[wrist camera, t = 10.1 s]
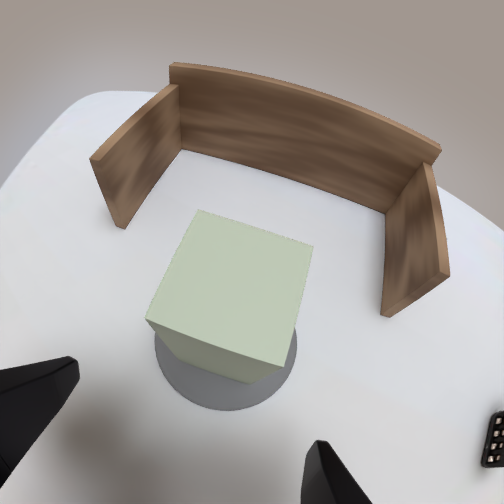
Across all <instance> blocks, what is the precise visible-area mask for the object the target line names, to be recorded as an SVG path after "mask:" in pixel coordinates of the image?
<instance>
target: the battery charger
mask: <svg viewBox="0 0 504 504" xmlns="http://www.w3.org/2000/svg"><path fill="white" fill-rule="evenodd" d="M482 464H483V466H484V467H485V468H498V467H504V411H500V412H497V413H495V414H494V416H493V417H492V419H491V423H490V427H489V432H488V437H487V441H486V446H485V450H484V455H483V460H482Z"/></svg>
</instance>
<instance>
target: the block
mask: <svg viewBox="0 0 504 504" xmlns="http://www.w3.org/2000/svg"><path fill="white" fill-rule="evenodd" d="M313 247H314V246H311V245H308V244H305V243H302V242H299V241H296V240H293V239H290V238H287V237H284V236H281V235H278V234H275V233H271V232H268V231H265V230H262V229H259V228H256V227H253V226H250V225H247V224H243V223H240V222H237V221H234V220H231V219H228V218H224V217H221V216H218V215H215V214H212V213H208V212H205V211H202V210H197V212H196V214H195V216H194V218H193V220H192V222H191V223H190V225H189V227H188V229H187V231H186V233H185V235H184V237H183V239H182V241H181V243H180V245H179V246H178V248H177V250H176V252H175V254H174V256H173V258H172V260H171V262H170V264H169V266H168V268H167V270H166V272H165V275H164V277H163V279H162V281H161V283H160V285H159V287H158V289H157V291H156V293H155V295H154V298H153V300H152V302H151V304H150V306H149V308H148V311H147V313H146V315H145V317H144V318H145V319H146V321H147V322H148V323H149V325H150V326H151V327H152V328H153V330H154V331H155V332H156V333H157V335H158V336H159V337H160V338H161V339H162V341H163V342H164V343H165V344H166V345H167V347H168V348H169V349H170V350H171V351H172V353H173V354H174V355H175V356H176V357H177V358H178V359H179V360H180V361H182V362H185V363H187V364H190V365H193V366H195V367H198V368H201V369H204V370H206V371H209V372H212V373H215V374H218V375H221V376H224V377H227V378H230V379H233V380H236V381H239V382H242V383H246V384H249V385H250V384H252V383H254V382H256V381H258V380H260V379H262V378H264V377H266V376H268V375H270V374H272V373H274V372H276V371H277V370H279V369H281V368H283V367H284V364H285V361H286V357H287V354H288V350H289V346H290V343H291V339H292V335H293V331H294V327H295V324H296V320H297V316H298V312H299V308H300V304H301V299H302V295H303V291H304V287H305V283H306V278H307V274H308V269H309V265H310V260H311V256H312V251H313Z"/></svg>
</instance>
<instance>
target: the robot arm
mask: <svg viewBox="0 0 504 504" xmlns="http://www.w3.org/2000/svg"><path fill="white" fill-rule="evenodd" d="M79 379H80V373H79V365H78V361H77V360H76V359H74V358H72V357H70V356H66V357H61V358H57V359H52V360H48V361H43V362H38V363H34V364H29V365H24V366H18V367H13V368H8V369H2V370H0V489H1V487H2V486H3V484H4V483H5V481H6V480H7V479H8V477H9V476H10V475H11V473H12V472H13V470H14V469H15V467H16V466H17V465H18V463H19V462H20V461H21V459H22V458H23V457H24V455H25V454H26V453H27V451H28V450H29V449H30V447H31V446H32V445H33V443H34V442H35V441H36V440H37V438H38V437H39V436H40V434H41V433H42V432H43V431H44V429H45V428H46V427H47V426H48V424H49V423H50V422H51V420H52V419H53V418H54V417H55V416H56V414H57V413H58V412H59V411H60V409H61V408H62V406H63V405H64V403H65V402H66V400H67V399H68V397H69V395H70V394H71V392H72V391H73V389H74V388H75V386H76V385H77V383H78V381H79ZM301 504H372V502H371V501H370V500H369V498H368V497H367V496H366V494H365V493H364V492H363V490H362V489H361V488H360V486H359V485H358V483H357V482H356V481H355V479H354V478H353V477H352V475H351V474H350V472H349V471H348V470H347V468H346V467H345V465H344V464H343V463H342V461H341V460H340V458H339V457H338V456H337V454H336V453H335V451H334V450H333V448H332V447H331V446H330V444H329V443H328V442H327V441H322V440H316V441H315V442H314V443H313V445H312V446H311V448H310V449H309V451H308V452H307V455H306V459H305V466H304V473H303V480H302V487H301Z"/></svg>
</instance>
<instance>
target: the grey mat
mask: <svg viewBox="0 0 504 504" xmlns="http://www.w3.org/2000/svg"><path fill="white" fill-rule="evenodd" d="M155 351H156V356H157V360H158V363H159V366H160V368H161V370H162V372H163V374H164V376H165V377H166V379H167V380H168V382H169V383H170V384H171V385H172V386H173V387H174V389H175V390H177V391H178V392H179V393H180V394H181V395H182V396H184V397H185V398H187V399H188V400H190V401H192V402H194V403H196V404H198V405H200V406H203V407H206V408H210V409H215V410H226V411H231V410H240V409H244V408H249V407H251V406H254V405H257V404H259V403H261V402H262V401H264V400H266V399H268V398H269V397H270V396H272V395H273V394H274V393H275V392H276V391H277V390H278V389H279V388H280V387H281V386H282V385H283V383H284V382H285V381H286V379H287V378H288V376H289V374H290V372H291V370H292V367H293V365H294V362H295V357H296V351H297V336H296V331H295V327H294V331H293V335H292V339H291V343H290V346H289V350H288V354H287V357H286V361H285V364H284V367H283V368H281V369H279V370H277V371H276V372H274V373H272V374H270V375H268V376H266V377H264V378H262V379H260V380H258V381H256V382H254V383H252V384H250V385H249V384H246V383H242V382H239V381H236V380H233V379H230V378H227V377H224V376H221V375H218V374H215V373H212V372H209V371H206V370H204V369H201V368H198V367H195V366H193V365H190V364H187V363H185V362H182V361H180V360H179V359H178V358H177V357H176V356H175V355H174V354H173V353H172V351H171V350H170V349H169V348H168V347H167V345H166V344H165V343H164V342H163V341H162V339H161V338H160V337H159V336H158V335H157V333H156V332H155Z"/></svg>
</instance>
